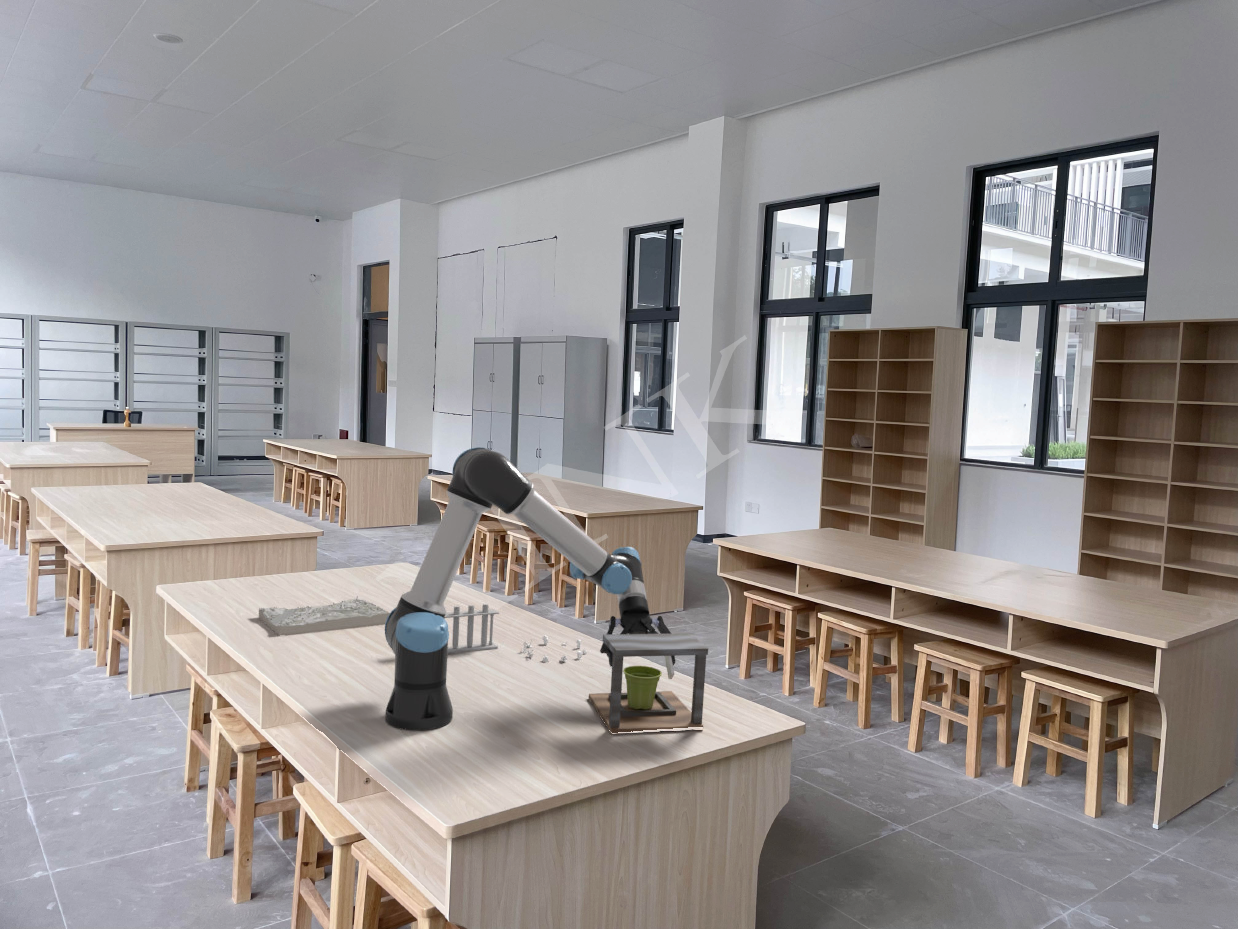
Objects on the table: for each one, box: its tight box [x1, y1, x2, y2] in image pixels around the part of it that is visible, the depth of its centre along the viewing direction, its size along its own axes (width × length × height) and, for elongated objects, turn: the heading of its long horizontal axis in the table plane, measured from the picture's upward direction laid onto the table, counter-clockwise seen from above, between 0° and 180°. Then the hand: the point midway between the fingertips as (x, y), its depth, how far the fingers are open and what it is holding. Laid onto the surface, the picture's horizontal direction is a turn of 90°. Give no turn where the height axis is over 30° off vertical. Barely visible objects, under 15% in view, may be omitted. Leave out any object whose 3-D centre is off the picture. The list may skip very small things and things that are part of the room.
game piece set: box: [520, 634, 588, 663], centre depth 261 cm, size 19×20×4 cm
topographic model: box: [258, 595, 391, 636], centre depth 282 cm, size 23×34×5 cm
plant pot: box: [623, 665, 663, 710], centre depth 217 cm, size 9×9×9 cm
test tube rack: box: [444, 603, 500, 655], centre depth 258 cm, size 25×4×13 cm, turn 120°
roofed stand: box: [588, 632, 709, 733], centre depth 214 cm, size 24×22×20 cm
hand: (645, 677), depth 216 cm, fingers open, 13 cm apart
